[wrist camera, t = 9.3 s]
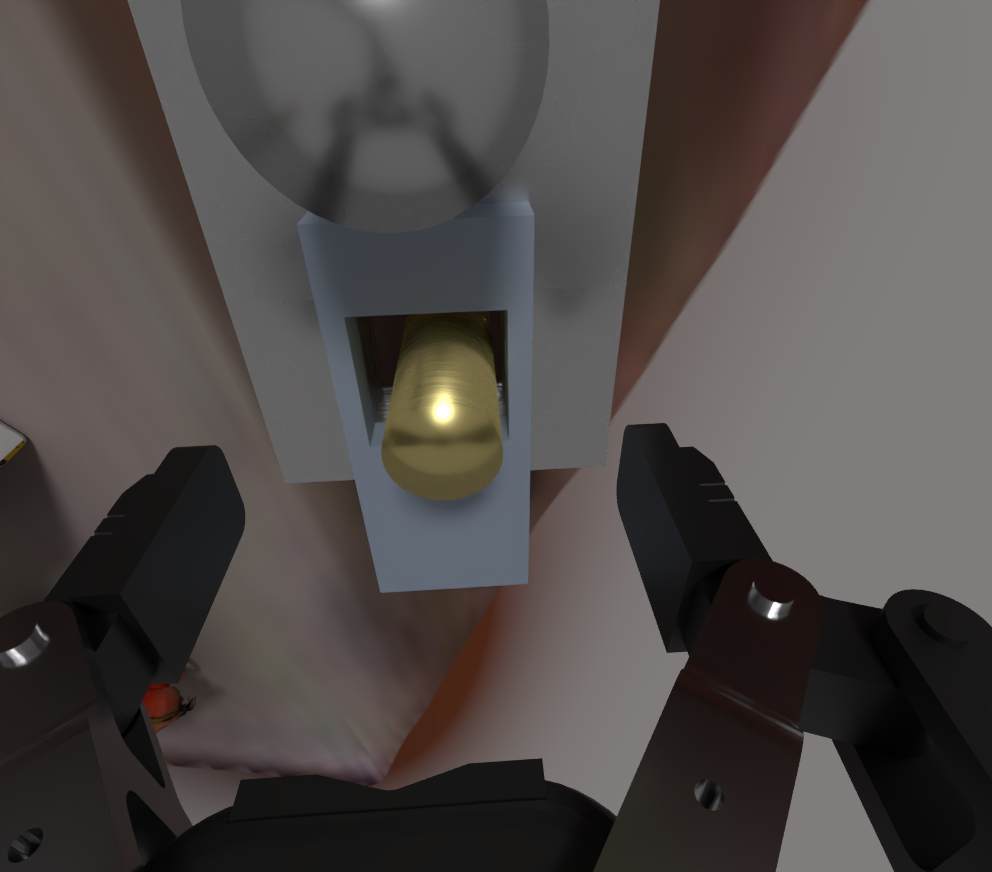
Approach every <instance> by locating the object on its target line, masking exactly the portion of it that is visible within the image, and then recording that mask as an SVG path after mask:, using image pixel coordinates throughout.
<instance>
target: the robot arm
mask: <svg viewBox="0 0 992 872" xmlns="http://www.w3.org/2000/svg"><path fill="white" fill-rule="evenodd" d="M617 503H618V509H619V512H620V516H621V519H622V522H623V525H624V528H625V530H626V534H627V537H628V540H629V543H630V546H631V548H632V551H633V554H634V557H635V560H636V563H637V566H638V569H639V572H640V575H641V578H642V581H643V584H644V587H645V590H646V592H647V596H648V598H649V601H650V604H651V607H652V610H653V613H654V616H655V619H656V622H657V625H658V628H659V631H660V634H661V637H662V640H663V643H664V645H665V648H666V651H667V653H672V652H688V654H689V659H688V661H687V663H686V665H685V667H684V669H682V670H681V671H680V673H679V675H678V677H677V679H676V682H675V684H674V686H673V689H672V691H671V693H670V695H669V698H668V700H667V702H666V705H665V707H664V709H663V711H662V714H661V716H660V718H659V721H658V723H657V725H656V728H655V730H654V732H653V735H652V737H651V739H650V741H649V744H648V746H647V748H646V751H645V753H644V755H643V758H642V760H641V762H640V765H639V767H638V769H637V772H636V774H635V776H634V778H633V781H632V783H631V785H630V788H629V790H628V792H627V795H626V797H625V799H624V802H623V804H622V806H621V808H620V811H619V813H618V816H617V817H616V816H615V815H614V814H613V813H612V812H611V811H610V810H608V809H606V808H605V807H604V806H602V805H601V804H600V803H598V802H597V801H595V800H594V799H592V798H590V797H588V796H587V795H584V794H583V793H581V792H579V791H577V790H575V789H572V788H569V787H567V786H564V785H562V784H559V783H555V782H550V781H546V780H545V779H544V772H543V762H542V758H541V759H527V760H513V761H501V762H500V761H499V762H485V763H471V764H467V765H464V766H461V767H458V768H455V769H453V770H450V771H447V772H445V773H442V774H439V775H436V776H433V777H431V778H427V779H425V780H422V781H419V782H416V783H414V784H411V785H408V786H405V787H402V788H400V789H396V790H389V791H388V790H381V789H377V788H372V787H368V786H364V785H359V784H355V783H351V782H346V781H342V780H338V779H333V778H329V777H324V776H320V775H302V776H288V777H274V778H261V779H247V780H241V781H240V784H239V788H238V791H237V795H236V798H235V802H234V805H233V806H231V807H228V808H226V809H224V810H222V811H219V812H217V813H215V814H213V815H211V816H209V817H207V818H206V819H204V820H202V821H201V822H199V823H197V824H196V825H194V826H192V824H191V822H190V820H189V818H188V817H187V815H186V813H185V812H184V809H183V808H182V806H181V804H180V801H179V799H178V797H177V794H176V791H175V789H174V786H173V783H172V780H171V777H170V774H169V771H168V769H167V765H166V762H165V759H164V756H163V754H162V751H161V748H160V745H159V742H158V739H157V736H156V733H155V730H154V727H153V724H152V721H151V719H150V716H149V713H148V710H147V708H146V706H145V705H144V703H143V702H142V700H143V698H144V696H145V694H146V692H147V690H148V688H149V686H150V685H151V684H166V683H178V682H179V680H180V678H181V676H182V673H183V671H184V669H185V666H186V664H187V662H188V659H189V657H190V655H191V652H192V650H193V648H194V645H195V643H196V641H197V638H198V636H199V634H200V631H201V629H202V627H203V625H204V622H205V620H206V618H207V615H208V613H209V611H210V608H211V606H212V604H213V601H214V599H215V597H216V594H217V592H218V590H219V587H220V585H221V583H222V581H223V578H224V576H225V574H226V571H227V569H228V567H229V564H230V562H231V560H232V557H233V555H234V553H235V550H236V548H237V546H238V543H239V541H240V539H241V537H242V534H243V531H244V526H245V509H244V504H243V501H242V499H241V496H240V493H239V491H238V488H237V486H236V483H235V481H234V478H233V476H232V473H231V471H230V468H229V466H228V463H227V461H226V458H225V456H224V453H223V452H222V450H221V449H220V448H219V447H218V446H216V445H211V446H191V447H175V448H173V449H172V450H170V452H169V453H168V454H167V456H166V457H165V459H164V460H163V462H162V463H161V464H160V466H159V467H158V469H157V470H156V472H155V473H154V474H148V475H146V476H144V477H143V478H142V479H140V480H139V481H138V482H137V483H135V484H134V485H133V486H131V487H130V488H129V489H127V490H126V491H125V492H124V493H122V495H121V496H120V497H119V499H118V500H117V501H116V503H115V504H114V506H113V507H112V508H111V510H110V511H109V512H108V514H107V516H108V517H107V518H104V519H103V521H102V522H101V523H100V525H99V526H98V527H97V529H96V530H95V531H94V532H95V535H94V536H91V537H90V538H89V540H88V541H87V542H86V544H85V545H84V547H83V548H82V549H81V551H80V552H79V553H78V555H77V556H76V557H75V559H74V560H73V562H72V563H71V564H70V566H69V567H68V568H67V570H66V571H65V572H64V574H63V575H62V577H61V578H60V579H59V581H58V582H57V583H56V585H55V586H54V587H53V589H52V590H51V592H50V593H49V594H48V596H47V597H46V598H45V600H44V601H43V602H39V603H35V604H31V605H27V606H24V607H22V608H19V609H17V610H14V611H12V612H10V613H8V614H6V615H4V616H3V617H1V618H0V872H776V868H777V863H778V859H779V854H780V849H781V845H782V840H783V836H784V831H785V826H786V821H787V817H788V813H789V808H790V804H791V799H792V794H793V790H794V785H795V781H796V776H797V772H798V767H799V762H800V757H801V752H802V747H803V739H804V734H803V731H804V732H808V733H811V734H815V735H819V736H823V737H827V738H831V739H832V741H833V743H834V745H835V747H836V749H837V752H838V754H839V756H840V758H841V760H842V762H843V764H844V766H845V769H846V771H847V772H848V775H849V777H850V779H851V781H852V783H853V785H854V788H855V790H856V791H857V794H858V796H859V798H860V800H861V802H862V805H863V807H864V809H865V811H866V813H867V815H868V817H869V819H870V821H871V824H872V826H873V828H874V830H875V832H876V834H877V836H878V838H879V840H880V843H881V845H882V847H883V849H884V851H885V853H886V855H887V857H888V859H889V862H890V864H891V866H892V868H893V870H894V872H992V627H991V626H990V625H989V624H988V623H987V622H986V621H985V620H984V619H983V618H982V617H980V616H979V615H978V614H977V613H975V612H974V611H972V610H971V609H970V608H968V607H966V606H965V605H963V604H961V603H959V602H957V601H955V600H953V599H951V598H949V597H946V596H944V595H941V594H938V593H934V592H931V591H925V590H914V589H911V590H903V591H900V592H897V593H895V594H893V595H892V596H891V597H890V598H889V599H888V601H887V603H886V604H885V606H884V607H883V609H880V608H874V607H869V606H865V605H859V604H855V603H850V602H845V601H840V600H835V599H831V598H827V597H824V596H821V595H819V594H818V592H817V591H816V589H815V588H814V587H813V586H812V584H811V583H810V582H809V581H808V580H807V579H806V578H804V577H803V576H802V575H800V574H799V573H798V572H796V571H794V570H793V569H791V568H789V567H787V566H784V565H782V564H779V563H776V562H773V561H772V559H771V557H770V556H769V554H768V552H767V551H766V549H765V547H764V546H763V544H762V542H761V541H760V539H759V537H758V536H757V534H756V533H755V531H754V529H753V527H752V526H751V524H750V523H749V521H748V519H747V517H746V516H745V514H744V512H743V511H742V509H741V507H740V506H739V504H738V502H737V501H735V500H734V496H733V494H732V492H731V491H730V489H729V488H728V486H727V485H725V481H724V479H723V477H722V476H721V474H720V473H719V471H718V469H717V468H716V466H715V464H714V463H713V462H712V461H711V460H710V459H708V458H707V457H706V456H705V455H703V454H702V453H701V452H699V451H698V450H697V449H696V448H694V447H679V445H678V444H677V442H676V440H675V438H674V436H673V434H672V432H671V431H670V429H669V427H668V426H667V424H665V423H658V424H639V425H638V424H637V425H627V426H626V428H625V431H624V436H623V443H622V450H621V457H620V465H619V472H618V479H617Z"/></svg>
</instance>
